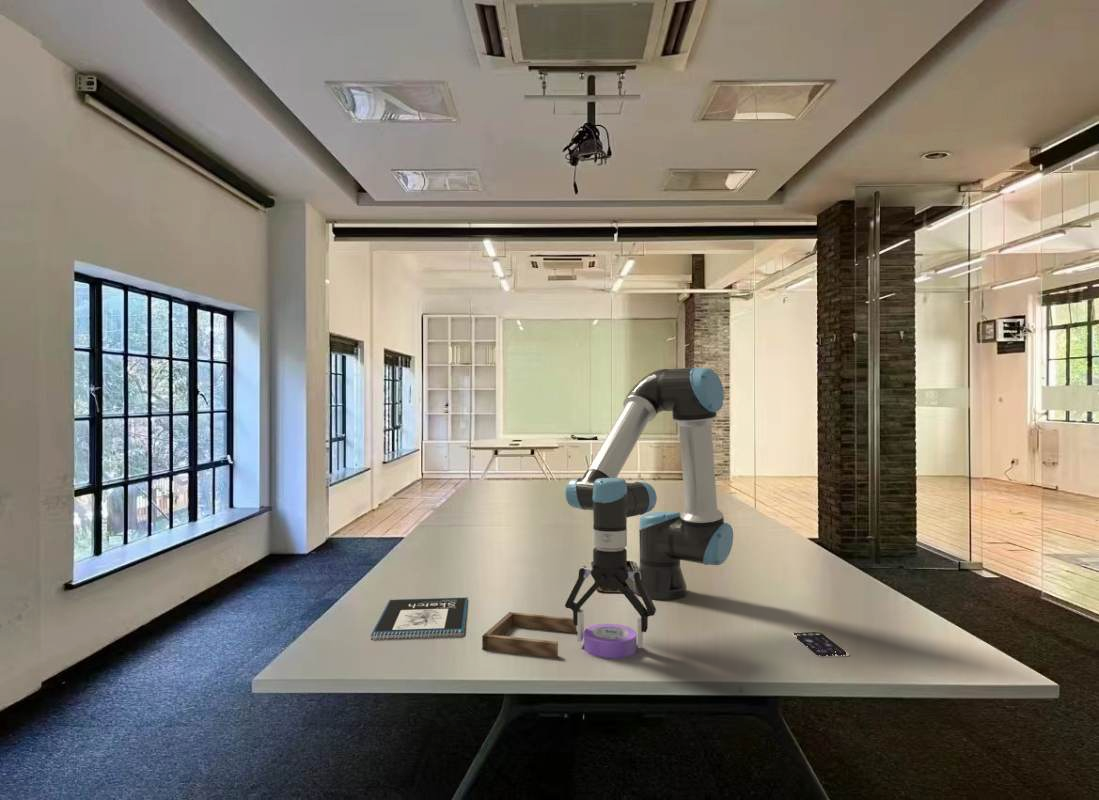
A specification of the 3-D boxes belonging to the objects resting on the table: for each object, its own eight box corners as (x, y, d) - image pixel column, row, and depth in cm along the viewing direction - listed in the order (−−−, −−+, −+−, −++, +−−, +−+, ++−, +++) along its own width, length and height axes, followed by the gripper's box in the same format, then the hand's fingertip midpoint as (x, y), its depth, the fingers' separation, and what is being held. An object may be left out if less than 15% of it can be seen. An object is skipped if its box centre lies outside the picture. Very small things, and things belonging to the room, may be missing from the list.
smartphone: (820, 631, 158) (852, 655, 143) (820, 634, 158) (852, 658, 143) (789, 632, 158) (817, 656, 143) (789, 635, 158) (818, 659, 143)
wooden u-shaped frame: (576, 631, 159) (576, 618, 159) (556, 657, 143) (556, 643, 143) (509, 624, 164) (509, 612, 164) (482, 649, 148) (482, 635, 148)
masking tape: (635, 661, 141) (635, 643, 141) (581, 657, 143) (581, 639, 143) (637, 641, 153) (637, 624, 153) (587, 638, 155) (587, 622, 155)
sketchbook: (467, 602, 185) (467, 594, 185) (463, 640, 155) (463, 631, 155) (389, 604, 183) (389, 596, 183) (370, 642, 153) (370, 633, 153)
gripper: (551, 547, 148) (551, 642, 148) (663, 555, 141) (664, 654, 141) (560, 541, 155) (561, 631, 155) (668, 547, 148) (668, 642, 148)
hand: (610, 642), depth 148 cm, fingers open, 13 cm apart
